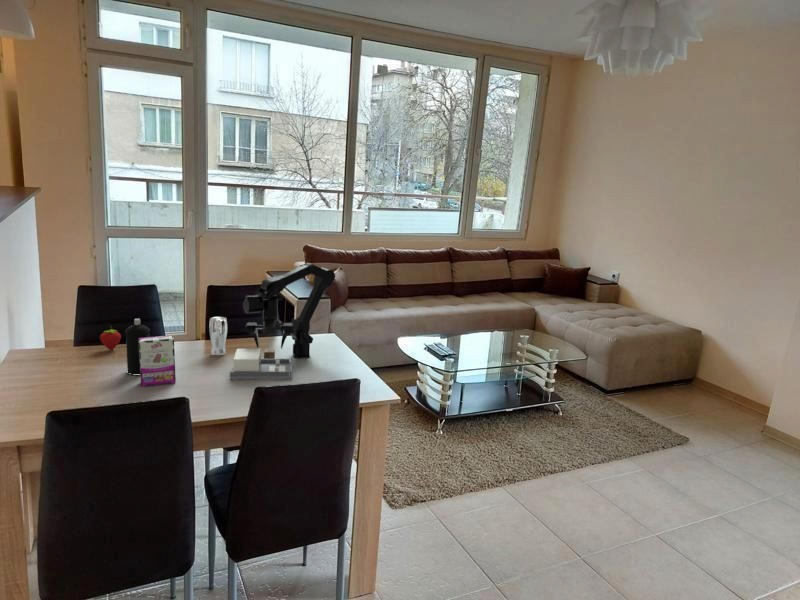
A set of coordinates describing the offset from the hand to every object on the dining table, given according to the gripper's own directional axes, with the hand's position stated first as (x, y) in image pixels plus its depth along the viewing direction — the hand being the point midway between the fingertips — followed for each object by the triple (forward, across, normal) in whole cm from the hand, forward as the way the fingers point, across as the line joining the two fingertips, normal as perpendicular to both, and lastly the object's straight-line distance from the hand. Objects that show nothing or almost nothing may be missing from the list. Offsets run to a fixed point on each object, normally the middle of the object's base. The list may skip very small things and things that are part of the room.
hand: (269, 348), depth 215 cm
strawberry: (+5, -63, +13) cm, 65 cm away
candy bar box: (+6, -37, -23) cm, 44 cm away
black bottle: (+5, -46, -12) cm, 48 cm away
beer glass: (+6, -21, +9) cm, 24 cm away
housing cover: (+4, -8, -13) cm, 15 cm away
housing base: (+5, -2, -13) cm, 14 cm away
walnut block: (+6, 0, 0) cm, 6 cm away
